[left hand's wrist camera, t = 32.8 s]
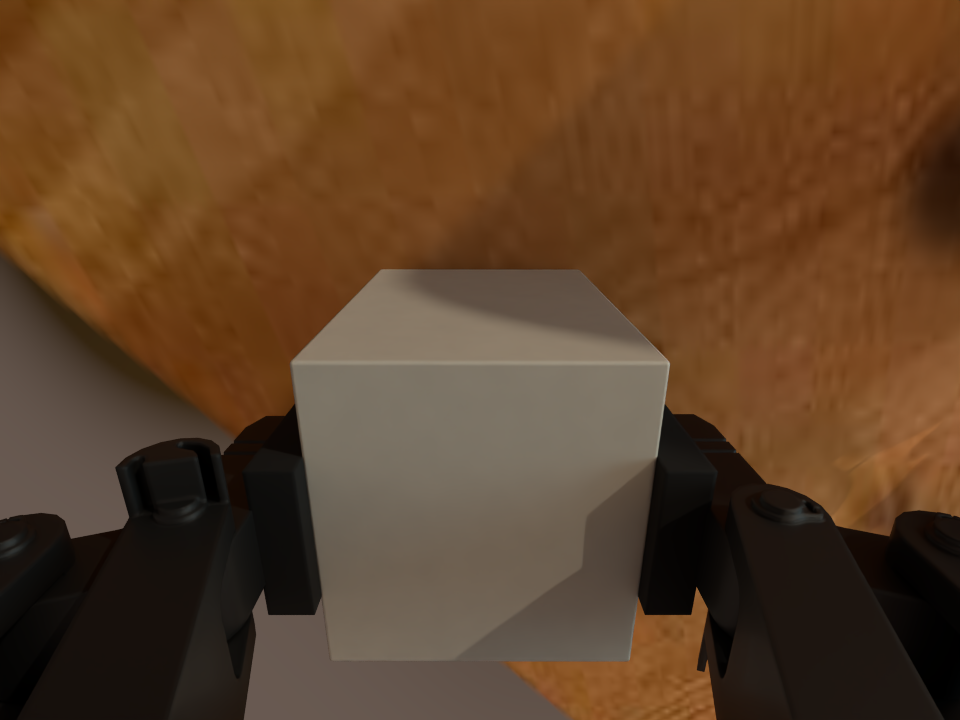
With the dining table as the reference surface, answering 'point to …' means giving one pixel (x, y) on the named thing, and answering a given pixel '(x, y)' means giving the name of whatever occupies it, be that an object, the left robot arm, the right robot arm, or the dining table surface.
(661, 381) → the block
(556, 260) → the dining table surface
